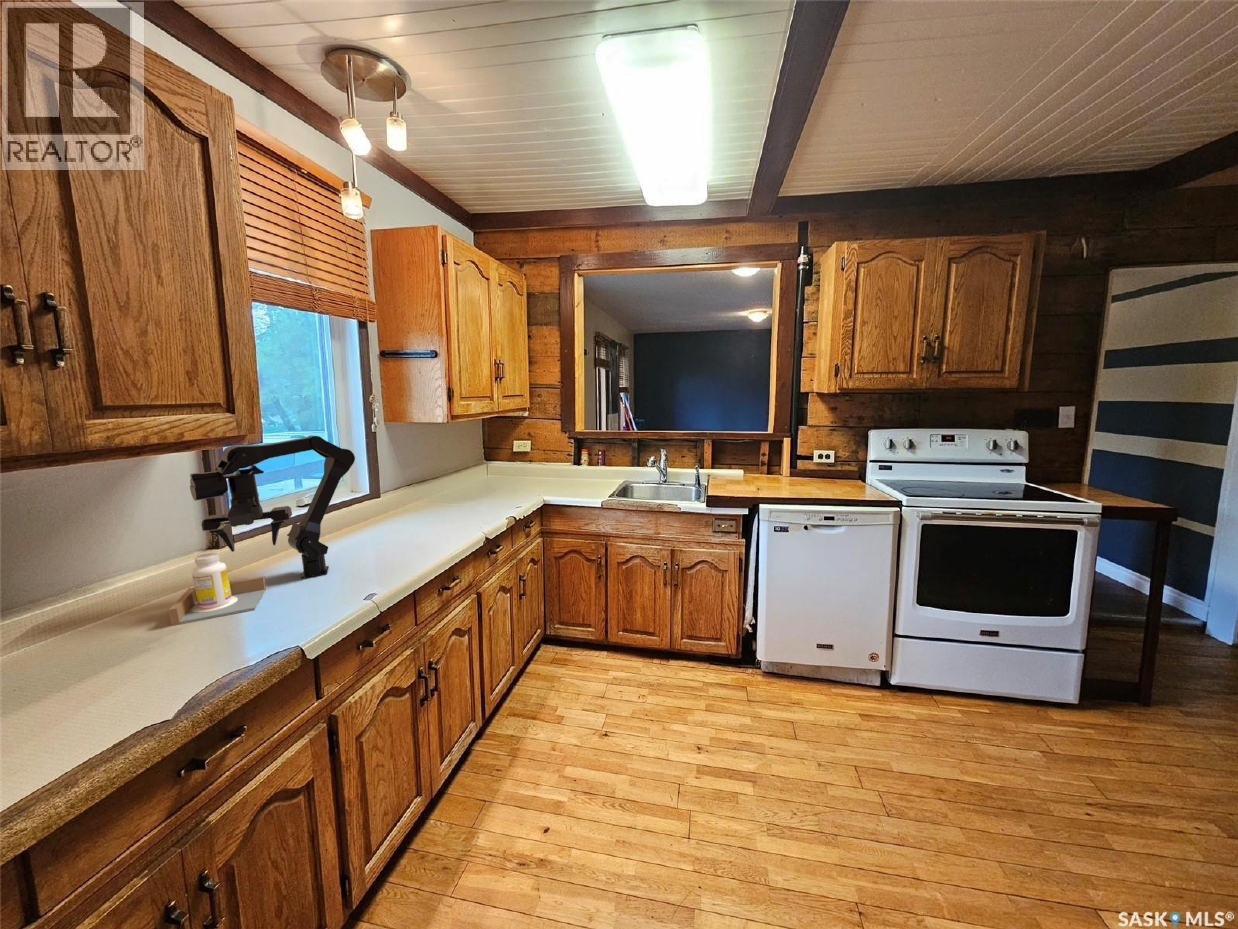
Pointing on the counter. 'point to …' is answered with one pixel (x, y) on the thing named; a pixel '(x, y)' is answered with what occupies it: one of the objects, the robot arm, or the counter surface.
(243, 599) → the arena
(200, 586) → the supplement bottle
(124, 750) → the counter surface
